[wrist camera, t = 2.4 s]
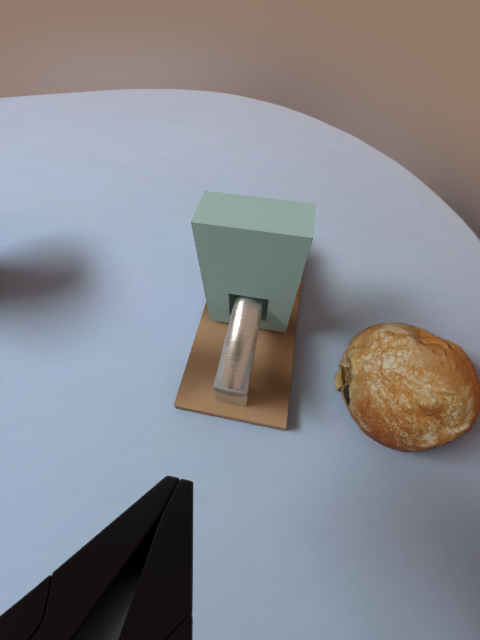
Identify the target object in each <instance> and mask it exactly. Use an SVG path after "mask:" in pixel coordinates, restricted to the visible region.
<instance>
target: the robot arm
mask: <svg viewBox="0 0 480 640" xmlns="http://www.w3.org/2000/svg"><path fill="white" fill-rule="evenodd" d="M192 601H193V482H192V481H189V480H185V479H181V480H180V479H179V478H176V477H172V476H166V477H165V478H163V479H162V480H161V481H160V482H159V483H158V484H156V485H155V486H154V487H153V488H152V489H151V490H149V491H148V492H147V493H146V494H145V495H143V496H142V497H141V498H140V499H139V500H138V501H136V502H135V503H134V504H133V505H132V506H131V507H129V508H128V509H127V510H126V511H125V512H123V513H122V514H121V515H120V516H119V517H118V518H116V519H115V520H114V521H113V522H112V523H111V524H109V525H108V526H107V527H106V528H105V529H103V530H102V531H101V532H100V533H99V534H98V535H96V536H95V537H94V538H93V539H92V540H91V541H89V542H88V543H87V544H86V545H85V546H83V547H82V548H81V549H80V550H79V551H78V552H76V553H75V554H74V555H73V556H72V557H71V558H69V559H68V560H67V561H66V562H65V563H63V564H62V565H61V566H60V567H59V568H58V569H56V570H55V571H54V572H53V574H52V576H51V575H49V576H48V577H47V578H46V579H44V580H43V581H42V582H41V583H40V584H39V585H37V586H36V587H35V588H34V589H33V590H31V591H30V592H29V593H28V594H27V595H25V596H24V597H23V598H22V599H20V600H19V601H18V602H17V603H16V604H14V605H13V606H12V607H11V608H9V609H8V610H7V611H6V612H5V613H3V614H2V615H1V616H0V640H192V626H193V618H192Z"/></svg>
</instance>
